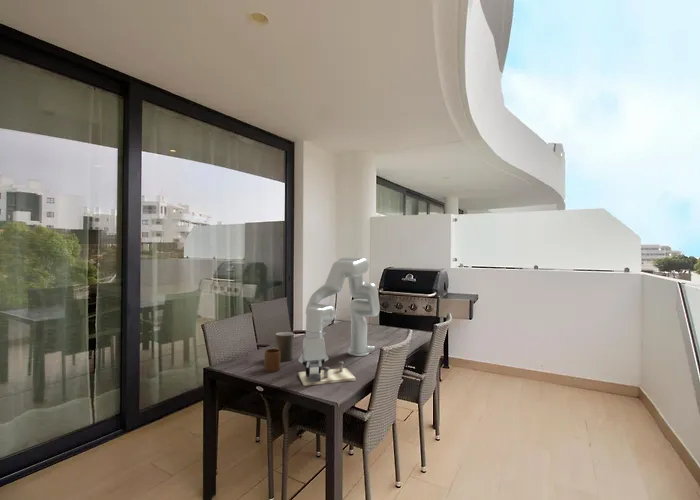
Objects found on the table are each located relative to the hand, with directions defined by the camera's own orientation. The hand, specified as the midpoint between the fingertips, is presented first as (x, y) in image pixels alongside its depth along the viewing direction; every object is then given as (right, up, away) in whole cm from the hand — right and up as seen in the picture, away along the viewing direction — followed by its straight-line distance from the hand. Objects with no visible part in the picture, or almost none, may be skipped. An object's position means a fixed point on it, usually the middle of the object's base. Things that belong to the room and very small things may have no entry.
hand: (313, 374), depth 154 cm
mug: (-21, -3, +16) cm, 27 cm away
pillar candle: (-19, -3, +31) cm, 37 cm away
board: (+6, -3, +5) cm, 8 cm away
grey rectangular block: (0, 0, 0) cm, 0 cm away
